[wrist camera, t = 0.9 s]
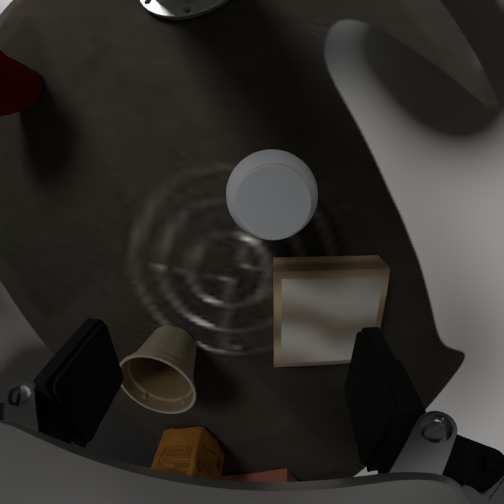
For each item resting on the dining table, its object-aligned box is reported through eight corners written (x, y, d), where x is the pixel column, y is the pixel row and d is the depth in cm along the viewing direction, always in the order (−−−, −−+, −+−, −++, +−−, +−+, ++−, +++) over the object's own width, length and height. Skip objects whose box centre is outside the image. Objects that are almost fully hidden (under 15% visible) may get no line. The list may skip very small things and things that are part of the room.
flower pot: (221, 336, 36) (209, 383, 28) (193, 379, 39) (178, 423, 30) (155, 301, 35) (128, 340, 27) (135, 348, 38) (110, 388, 29)
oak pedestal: (273, 257, 32) (273, 272, 28) (377, 255, 31) (391, 269, 27) (273, 346, 36) (273, 368, 32) (364, 341, 35) (373, 362, 31)
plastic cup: (69, 73, 26) (4, 57, 14) (29, 140, 29) (-36, 147, 17) (36, 44, 24) (-20, 29, 12) (1, 105, 27) (-56, 105, 15)
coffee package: (185, 457, 47) (162, 546, 26) (158, 422, 43) (121, 524, 22) (231, 457, 46) (218, 554, 25) (209, 422, 42) (185, 537, 21)
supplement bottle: (273, 228, 31) (276, 277, 19) (225, 187, 30) (195, 210, 18) (316, 180, 29) (349, 200, 17) (267, 138, 28) (266, 125, 16)
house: (303, 485, 50) (305, 525, 39) (225, 494, 53) (220, 531, 42) (287, 466, 46) (288, 513, 35) (201, 475, 50) (193, 516, 39)
